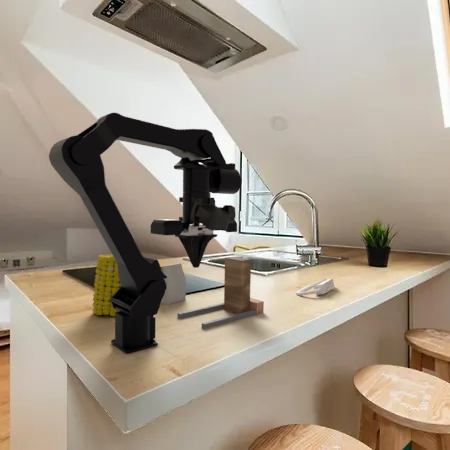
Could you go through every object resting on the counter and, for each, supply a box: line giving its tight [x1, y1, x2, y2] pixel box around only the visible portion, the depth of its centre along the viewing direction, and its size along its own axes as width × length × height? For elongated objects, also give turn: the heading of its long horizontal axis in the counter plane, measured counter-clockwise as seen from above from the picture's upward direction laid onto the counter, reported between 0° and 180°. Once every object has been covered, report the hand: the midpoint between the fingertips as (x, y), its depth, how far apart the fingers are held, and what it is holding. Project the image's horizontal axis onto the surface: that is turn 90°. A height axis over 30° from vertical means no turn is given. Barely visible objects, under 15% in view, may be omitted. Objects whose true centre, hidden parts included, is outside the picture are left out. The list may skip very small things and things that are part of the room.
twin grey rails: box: [177, 297, 265, 330], centre depth 85 cm, size 18×10×3 cm, turn 132°
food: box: [92, 253, 121, 317], centre depth 86 cm, size 15×12×10 cm
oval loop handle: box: [295, 277, 335, 297], centre depth 113 cm, size 20×8×4 cm, turn 148°
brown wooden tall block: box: [223, 256, 252, 315], centre depth 88 cm, size 3×6×13 cm, turn 42°
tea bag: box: [160, 263, 187, 306], centre depth 97 cm, size 4×7×10 cm, turn 142°
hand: (195, 267), depth 76 cm, fingers closed
